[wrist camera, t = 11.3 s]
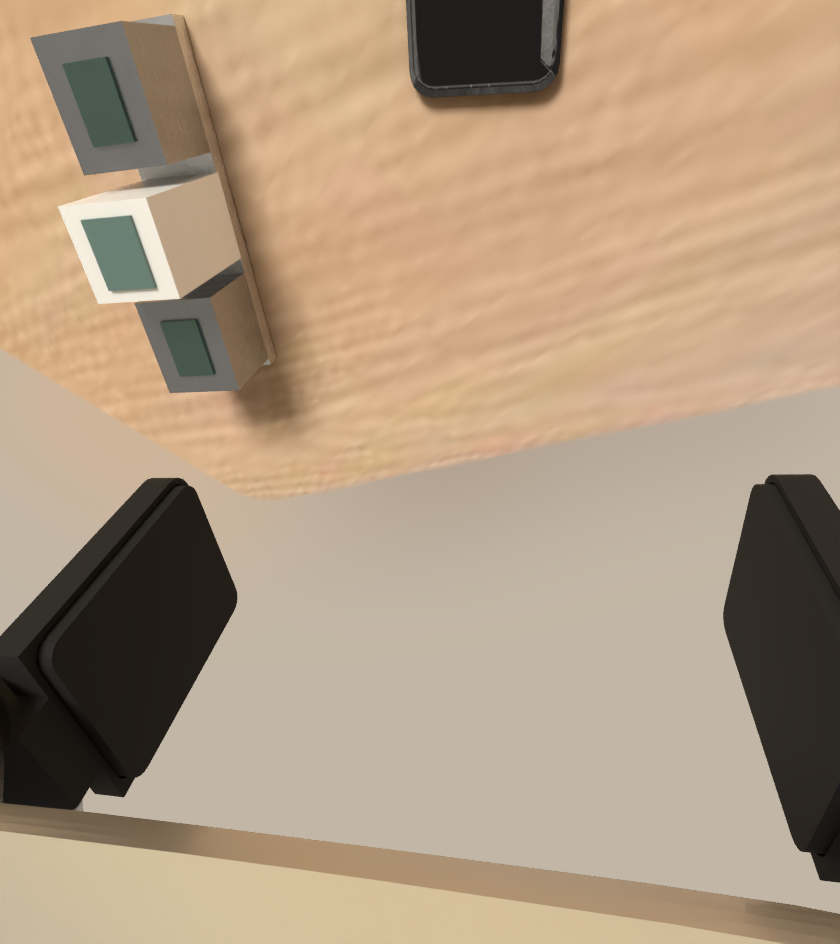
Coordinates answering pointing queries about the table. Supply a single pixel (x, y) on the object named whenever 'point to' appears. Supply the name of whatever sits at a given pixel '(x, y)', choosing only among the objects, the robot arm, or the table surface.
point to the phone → (483, 45)
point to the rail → (158, 156)
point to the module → (153, 237)
